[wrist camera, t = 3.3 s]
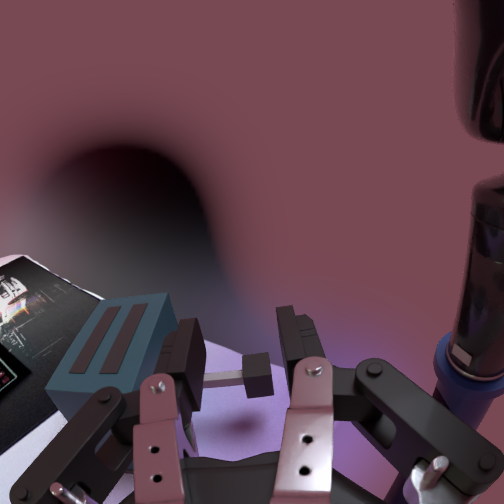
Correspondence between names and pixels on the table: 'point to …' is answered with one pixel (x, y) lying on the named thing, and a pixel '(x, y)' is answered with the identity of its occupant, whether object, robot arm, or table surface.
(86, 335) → the toaster
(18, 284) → the table surface
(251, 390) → the slider
